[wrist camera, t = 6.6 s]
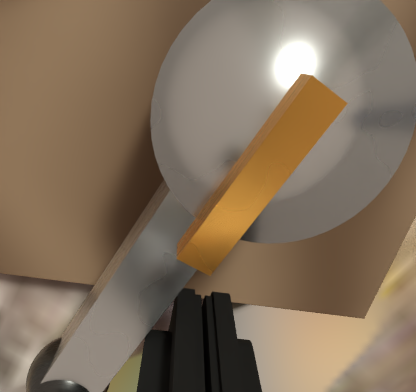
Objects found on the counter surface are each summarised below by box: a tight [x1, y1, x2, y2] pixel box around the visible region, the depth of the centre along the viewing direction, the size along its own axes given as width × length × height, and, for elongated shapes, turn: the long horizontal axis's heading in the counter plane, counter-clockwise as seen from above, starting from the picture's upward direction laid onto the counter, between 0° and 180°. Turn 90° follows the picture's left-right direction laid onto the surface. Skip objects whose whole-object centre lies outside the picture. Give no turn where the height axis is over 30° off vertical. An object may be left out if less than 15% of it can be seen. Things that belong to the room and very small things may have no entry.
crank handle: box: [26, 0, 416, 392], centre depth 9 cm, size 13×4×5 cm, turn 146°
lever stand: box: [0, 0, 416, 318], centre depth 9 cm, size 16×15×5 cm
